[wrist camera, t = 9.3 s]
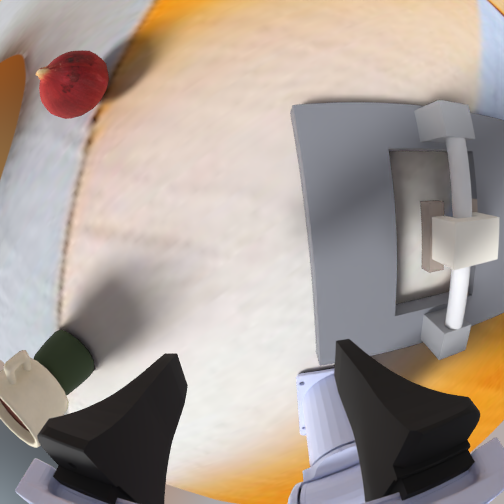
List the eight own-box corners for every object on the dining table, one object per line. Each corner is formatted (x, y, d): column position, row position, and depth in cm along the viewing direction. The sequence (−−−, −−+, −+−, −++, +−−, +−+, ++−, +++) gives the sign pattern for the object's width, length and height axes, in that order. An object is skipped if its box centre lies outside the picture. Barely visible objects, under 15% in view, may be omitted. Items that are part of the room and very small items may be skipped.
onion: (117, 55, 17) (68, 20, 10) (130, 101, 19) (75, 72, 11) (69, 89, 18) (15, 69, 10) (80, 135, 19) (18, 125, 12)
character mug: (50, 299, 23) (-32, 354, 11) (99, 325, 24) (20, 402, 11) (57, 370, 26) (2, 429, 13) (101, 395, 26) (52, 467, 13)
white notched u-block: (467, 258, 17) (497, 272, 13) (421, 268, 18) (450, 285, 14) (468, 197, 16) (500, 202, 12) (420, 201, 17) (452, 206, 13)
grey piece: (493, 305, 21) (523, 325, 16) (316, 352, 23) (327, 393, 17) (493, 122, 17) (528, 116, 11) (290, 112, 18) (298, 87, 13)
